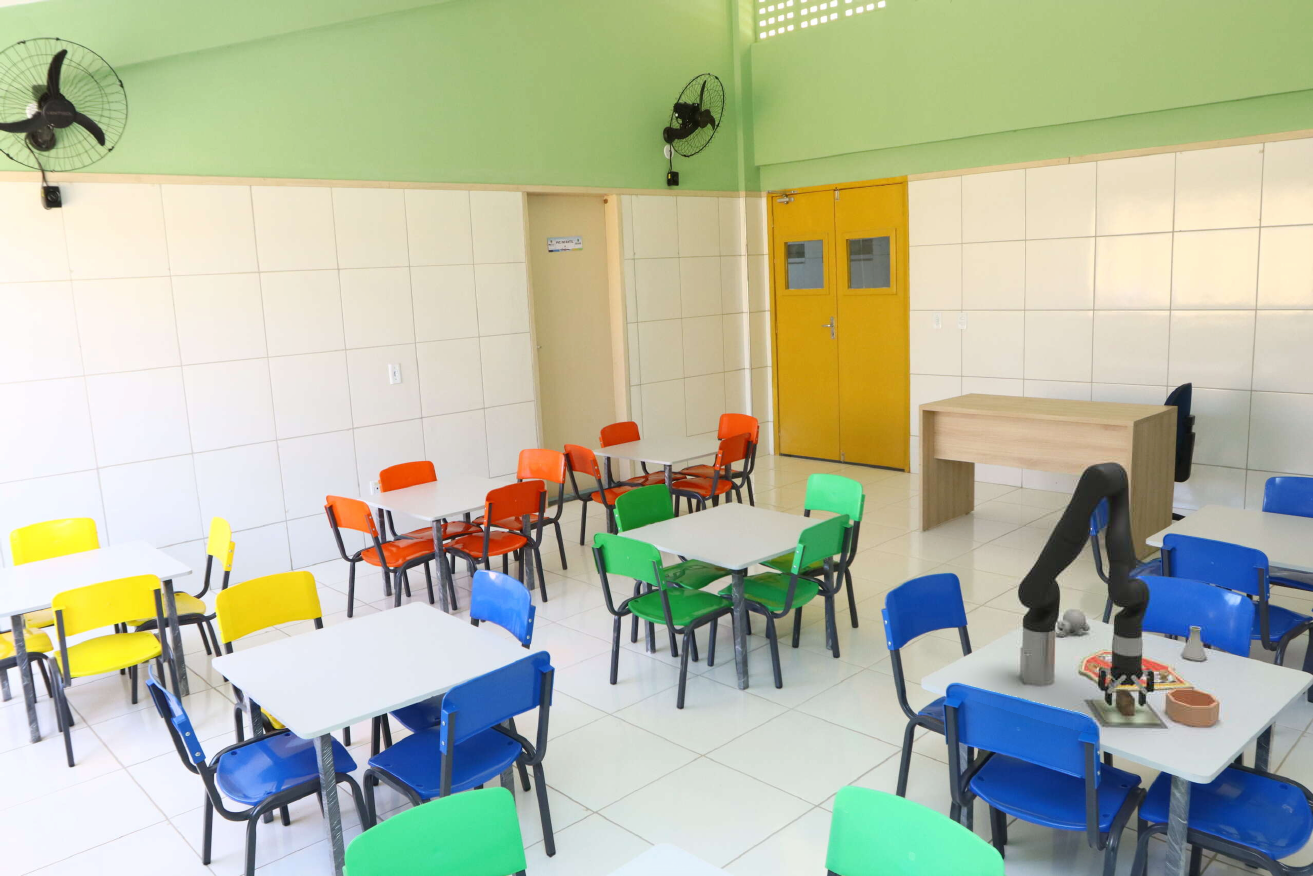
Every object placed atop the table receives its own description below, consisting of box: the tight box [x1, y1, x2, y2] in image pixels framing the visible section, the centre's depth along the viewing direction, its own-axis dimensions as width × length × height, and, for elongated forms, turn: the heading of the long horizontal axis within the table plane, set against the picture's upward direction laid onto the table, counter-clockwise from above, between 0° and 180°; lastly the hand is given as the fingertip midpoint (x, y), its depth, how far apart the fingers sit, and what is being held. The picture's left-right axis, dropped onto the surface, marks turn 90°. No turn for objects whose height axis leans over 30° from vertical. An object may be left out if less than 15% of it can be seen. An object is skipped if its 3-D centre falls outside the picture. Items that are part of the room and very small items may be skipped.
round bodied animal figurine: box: [1055, 608, 1091, 638], centre depth 321 cm, size 7×12×8 cm, turn 106°
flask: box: [1180, 625, 1208, 662], centre depth 297 cm, size 7×7×10 cm
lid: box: [1090, 689, 1161, 726], centre depth 262 cm, size 14×14×6 cm
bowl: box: [1164, 688, 1220, 728], centre depth 258 cm, size 12×12×6 cm
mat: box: [1083, 699, 1169, 730], centre depth 262 cm, size 17×17×1 cm
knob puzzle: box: [1078, 649, 1195, 694], centre depth 290 cm, size 29×30×4 cm
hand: (1125, 704), depth 262 cm, fingers open, 8 cm apart
